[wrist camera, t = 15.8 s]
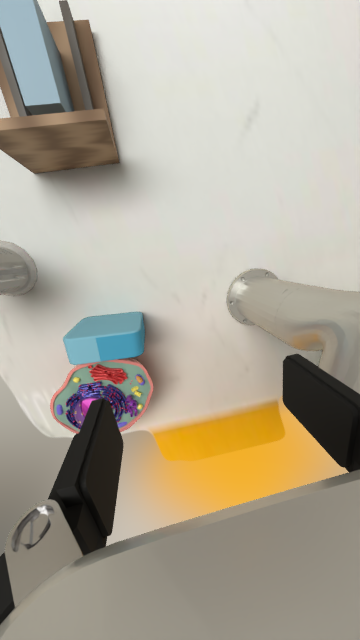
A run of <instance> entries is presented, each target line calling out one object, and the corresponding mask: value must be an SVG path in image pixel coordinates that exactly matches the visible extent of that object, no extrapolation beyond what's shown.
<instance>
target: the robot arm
mask: <svg viewBox="0 0 360 640" xmlns="http://www.w3.org/2000/svg"><path fill="white" fill-rule="evenodd" d="M265 273H266V274H265ZM241 277H242V279H241ZM230 302H231V303H230ZM227 306H228V309H229V312H230V314H231V315H232V316H233V317H234V318H235V319H236V320H237V321H239V322H241V323H243V324H247V325H258V326H260V327H261V328H263V329H264V330H266V331H267V332H269V333H271V334H272V335H274V336H275V337H277V338H278V339H280V340H282V341H283V342H285V343H286V344H288V345H290V346H292V347H294V348H296V349H299V350H304V351H319V350H323V351H322V355H321V358H320V362H319V366H316V365H315V364H313V363H312V362H310V361H308V360H307V359H305V358H304V357H302V356H301V355H299V354H294V355H290V356H287V357H286V358H285V360H284V361H283V402H284V405H285V406H286V407H287V408H288V410H289V411H290V412H291V413H292V414H293V415H294V416H295V417H296V418H297V419H298V421H299V422H300V423H301V424H302V425H303V426H304V427H305V428H306V429H307V430H308V432H309V433H310V434H311V435H312V436H313V437H314V438H315V439H316V440H317V441H318V443H319V444H320V445H321V446H322V447H323V448H324V449H325V450H326V451H327V452H328V454H329V455H330V456H331V457H332V458H333V459H334V460H335V461H336V462H337V463H338V464H339V465H340V466H341V467H345V468H346V469H347V471H348V472H349V473H346V474H342V475H339V476H335V477H332V478H329V479H325V480H321V481H318V482H315V483H311V484H307V485H304V486H301V487H297V488H294V489H290V490H287V491H284V492H280V493H277V494H274V495H270V496H267V497H263V498H260V499H256V500H253V501H249V502H246V503H243V504H239V505H236V506H233V507H229V508H226V509H222V510H220V511H216V512H213V513H209V514H206V515H203V516H199V517H196V518H193V519H189V520H186V521H183V522H180V523H176V524H173V525H169V526H166V527H163V528H160V529H157V530H154V531H151V532H147V533H144V534H141V535H138V536H135V537H132V538H129V539H126V540H123V541H119V542H117V543H114V544H111V545H109V546H106V541H107V536H109V535H111V533H112V528H113V521H114V513H115V506H116V498H117V490H118V483H119V475H120V468H121V460H122V453H123V440H122V436H121V433H120V430H119V428H118V425H117V422H116V419H115V416H114V413H113V410H112V407H111V404H110V401H109V400H107V401H106V400H105V398H102V399H97V400H93V401H92V402H91V404H90V406H89V409H88V411H87V414H86V416H85V419H84V421H83V424H82V426H81V429H80V432H79V433H77V434H76V435H75V436H74V438H73V440H72V442H71V445H70V447H69V450H68V452H67V455H66V457H65V459H64V462H63V464H62V467H61V469H60V471H59V474H58V476H57V479H56V481H55V483H54V486H53V488H52V491H51V493H50V496H49V498H48V500H43V501H41V502H39V503H37V504H35V505H34V506H33V507H31V508H30V509H29V510H27V511H26V512H25V513H24V514H23V515H22V516H21V517H20V519H19V520H18V521H17V523H16V524H15V525H14V526H13V528H12V530H11V532H10V533H9V535H8V538H7V541H6V544H5V552H4V553H3V554H2V555H1V556H0V640H360V292H355V291H343V290H335V289H328V288H323V287H317V286H310V285H305V284H299V283H294V282H288V281H283V280H278V278H277V277H276V276H275V275H274V274H273V273H272V272H270V271H268V270H265V269H250V270H248V271H245V272H243V273H242V274H240V275H239V276H238V277H237V278H236V279H235V280H234V281H233V283H232V284H231V286H230V288H229V291H228V295H227Z"/></svg>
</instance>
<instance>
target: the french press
mask: <svg viewBox="0 0 360 640" xmlns="http://www.w3.org/2000/svg"><path fill="white" fill-rule="evenodd" d="M36 280H37V269H36V266H35V264H34V261H33V259H32V258H31V257H30V256H29V254H28V253H27V252H26V251H25V250H24V249H22V248H21V247H19V246H17V245H15V244H14V243H10V242H6V241H1V240H0V295H1V294H4V295H10V296H17V295H22V294H25V293H26V292H28V291H29V290H31V289H32V288H33V286H34V284H35V282H36Z"/></svg>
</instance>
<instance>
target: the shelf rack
mask: <svg viewBox="0 0 360 640" xmlns="http://www.w3.org/2000/svg"><path fill="white" fill-rule="evenodd" d="M59 4H60V8H61V12H62V16H63V20H64V21H60V22H47V25H48V27H49V29H50V32H51V34H52V36H53V38H54V41H55V43H56V45H57V48H58V50H59V52H60V56H61V60H62V64H63V68H64V72H65V76H66V79H67V83H68V87H69V91H70V95H71V99H72V103H73V107H74V111H73V112H63V113H52V114H42V115H32V114H31V112H30V111H29V110H28V109H27V107H26V106H25V103H24V100H23V97H22V94H21V91H20V88H19V84H18V81H17V78H16V75H15V72H14V69H13V65H12V62H11V59H10V56H9V53H8V50H7V46H6V43H5V40H4V37H3V34H2V31H1V27H0V87H1V90H2V93H3V96H4V99H5V102H6V105H7V108H8V110H9V113H10V116H11V118H2V119H0V149H1V150H2V151H3V152H5V153H6V154H8V155H9V156H10V157H12V158H13V159H15V160H16V161H17V162H19V163H20V164H22V165H23V166H24V167H26V168H27V169H28V170H30V171H31V172H33V173H42V172H50V171H58V170H66V169H74V168H82V167H90V166H98V165H106V164H114V163H119V158H118V153H117V149H116V144H115V139H114V135H113V130H112V125H111V121H110V116H109V111H108V107H107V102H106V97H105V93H104V88H103V83H102V79H101V74H100V69H99V65H98V60H97V56H96V51H95V46H94V42H93V37H92V32H91V28H90V24H89V20H77V21H73V18H72V15H71V11H70V8H69V5H68V2H67V0H65V1H59Z"/></svg>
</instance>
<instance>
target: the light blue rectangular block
mask: <svg viewBox="0 0 360 640" xmlns="http://www.w3.org/2000/svg"><path fill="white" fill-rule="evenodd" d="M0 27H1V31H2V34H3V37H4V40H5V43H6V46H7V50H8V53H9V56H10V59H11V62H12V65H13V69H14V72H15V75H16V78H17V81H18V84H19V88H20V91H21V94H22V97H23V100H24V103H25V106H26V107H27V109H28V110H29V111H30V112H31V114H32V115H42V114H52V113H63V112H73V111H74V107H73V103H72V99H71V95H70V91H69V87H68V83H67V79H66V76H65V72H64V68H63V64H62V60H61V56H60V52H59V50H58V48H57V45H56V43H55V41H54V38H53V36H52V34H51V32H50V29H49V27H48V25H47V22H46V20H45V18H44V16H43V13H42V11H41V9H40V6H39V4H38V2H37V0H0Z"/></svg>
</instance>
